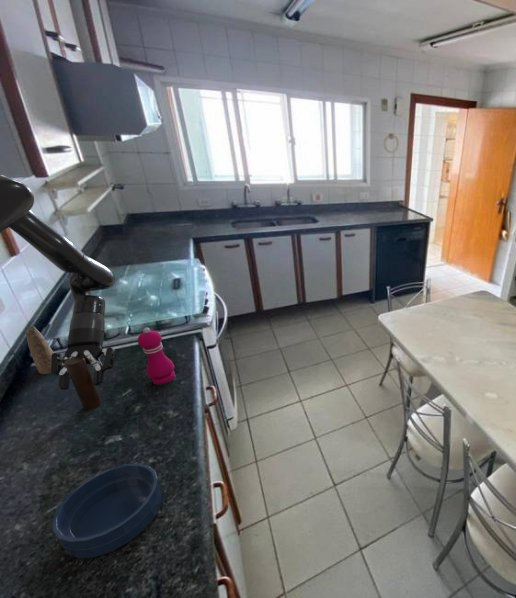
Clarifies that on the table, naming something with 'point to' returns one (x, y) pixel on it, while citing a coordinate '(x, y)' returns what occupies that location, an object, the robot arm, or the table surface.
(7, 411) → the table surface
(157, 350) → the pepper mill
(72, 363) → the brown cylinder
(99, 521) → the bowl
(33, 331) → the tan tapered cone
